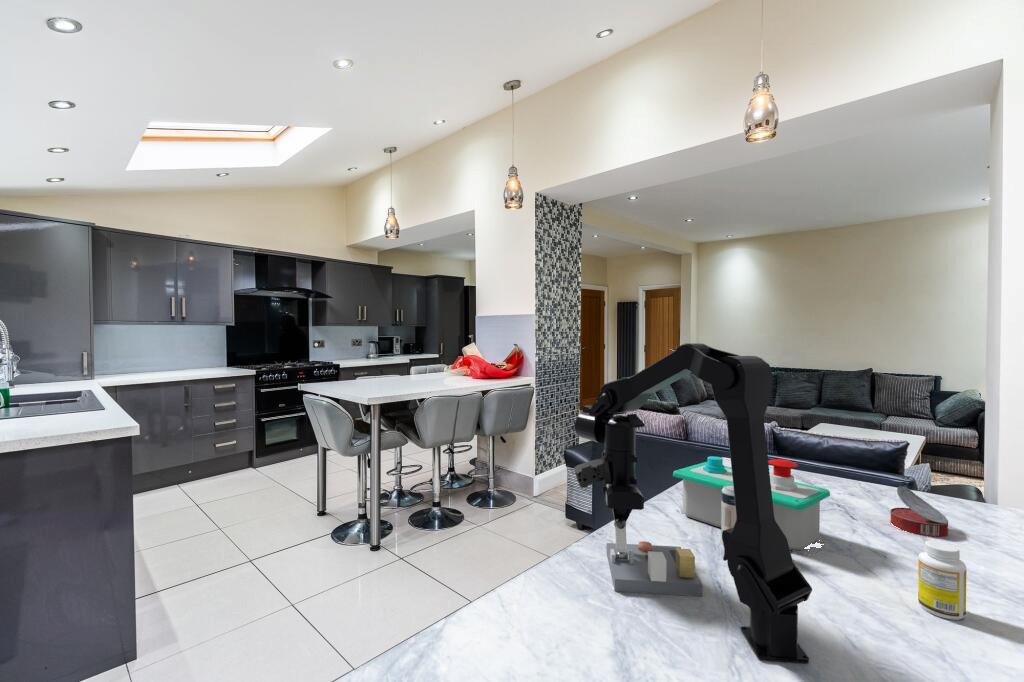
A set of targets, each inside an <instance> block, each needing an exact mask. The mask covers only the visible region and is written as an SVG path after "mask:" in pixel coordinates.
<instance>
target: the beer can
mask: <svg viewBox="0 0 1024 682" xmlns="http://www.w3.org/2000/svg"><path fill="white" fill-rule="evenodd" d="M735 522H736V508H735V498H734V488H733V485H725V486H724V487H723V489H722V507H721V528H720V531H721V532H720V543H721V545H723V546H724V544H723V540H722V531H723V530H727V529H730V528H733V527H734V524H735Z"/></svg>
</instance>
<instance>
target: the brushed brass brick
mask: <svg viewBox="0 0 1024 682" xmlns="http://www.w3.org/2000/svg"><path fill="white" fill-rule="evenodd" d="M675 569H676V571H677V573H678V575H679V577H685V578H695V573H696V557H695V555H694V553H693V551H692V550H691V548H681V549H679V548H676V567H675Z"/></svg>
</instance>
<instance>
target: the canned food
mask: <svg viewBox="0 0 1024 682" xmlns="http://www.w3.org/2000/svg"><path fill="white" fill-rule="evenodd" d="M896 493H897V496H898V497H899V499H900V500H901V502H902V503H903V504H904V505H905V506H906V507H894V508H891V509H890V524H891V523H892V524H893V525H894V526H896V527H898V528H900V529H902V530H901V531H903V530H904V531H903V532H905V531H907V532H906V533H909V534H912V533H913V534H914V535H916V536H917V535H918V536H921V537H927V536H928V537H929V538H930V537H931V538H945V537H947V536H949V519H947V517H946V515H944V514H942V513H941V511H940V510H938V509H937V508H935V507H933V505H931V504H930V503H928V502H927V501H925V500H924V499H923V498H922V497H920V496H919V495H917V494H915V493H914V491H912V490H911V489H910V488H908V487H907V486H902V485H899V486H898V487H897V488H896ZM894 526H893V527H894ZM896 527H895V528H896ZM898 528H897V529H898ZM900 529H899V530H900Z"/></svg>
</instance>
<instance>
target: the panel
mask: <svg viewBox="0 0 1024 682" xmlns="http://www.w3.org/2000/svg"><path fill="white" fill-rule="evenodd" d="M676 548H679V549H682V547H681V546H674V545H657V544H652V543H651V542H649V541H645V540H643V541H639V542H638V544H637V543H636V544H634V543H627V550H616V542H606V556H607V561H608V566H609V567H608V568H609V570H610V571H609V572H610V577H611V580H612V585H613V590H614V592H623V593H624V592H625V593H639V592H641V593H643V594H657V595H658V594H659V595H675V596H688V595H694V596H693V597H703V584H702V582H701V580H700V578H699V576H698V575H697V573H696V572H695V578H685V577H679V575H678V573H677V571H676V569H675V567H676ZM648 551H650V552H663V554H664V556H665V558H666V582H662V581H651V579H650V576H649V574H648ZM616 552H627V553H628V560H624V559H616ZM695 595H696V596H695Z"/></svg>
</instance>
